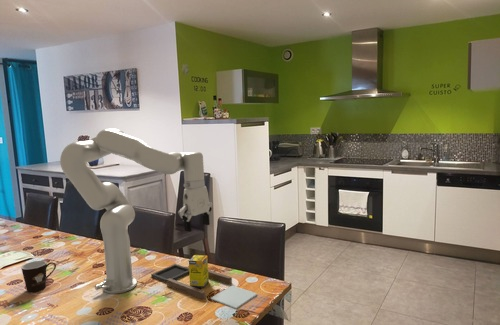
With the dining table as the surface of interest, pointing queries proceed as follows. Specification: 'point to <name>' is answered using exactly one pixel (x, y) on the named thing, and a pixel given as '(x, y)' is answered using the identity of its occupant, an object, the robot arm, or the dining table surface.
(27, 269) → the coffee mug
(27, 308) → the dining table surface
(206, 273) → the supplement box
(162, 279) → the tray
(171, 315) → the dining table surface
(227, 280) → the wooden bars
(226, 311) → the dining table surface
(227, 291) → the pad
